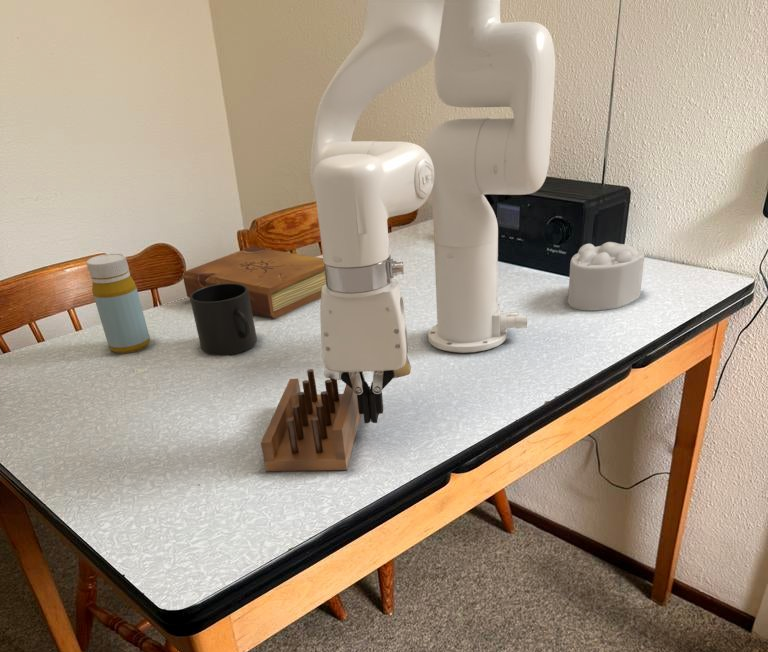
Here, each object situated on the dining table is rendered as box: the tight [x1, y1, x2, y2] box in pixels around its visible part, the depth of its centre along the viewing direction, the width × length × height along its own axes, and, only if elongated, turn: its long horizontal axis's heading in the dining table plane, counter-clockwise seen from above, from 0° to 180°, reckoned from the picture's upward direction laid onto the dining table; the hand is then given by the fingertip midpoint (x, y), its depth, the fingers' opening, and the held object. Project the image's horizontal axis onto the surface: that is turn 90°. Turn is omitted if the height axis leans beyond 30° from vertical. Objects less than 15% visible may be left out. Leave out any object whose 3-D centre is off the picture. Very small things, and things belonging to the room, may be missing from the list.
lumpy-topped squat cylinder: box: [567, 241, 645, 312], centre depth 129 cm, size 10×13×9 cm
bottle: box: [86, 252, 151, 354], centre depth 126 cm, size 7×7×15 cm
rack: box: [260, 368, 362, 472], centre depth 97 cm, size 10×18×6 cm, turn 175°
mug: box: [189, 283, 258, 356], centre depth 124 cm, size 9×12×9 cm
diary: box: [182, 246, 326, 320], centre depth 146 cm, size 23×19×6 cm
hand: (371, 418), depth 96 cm, fingers closed
